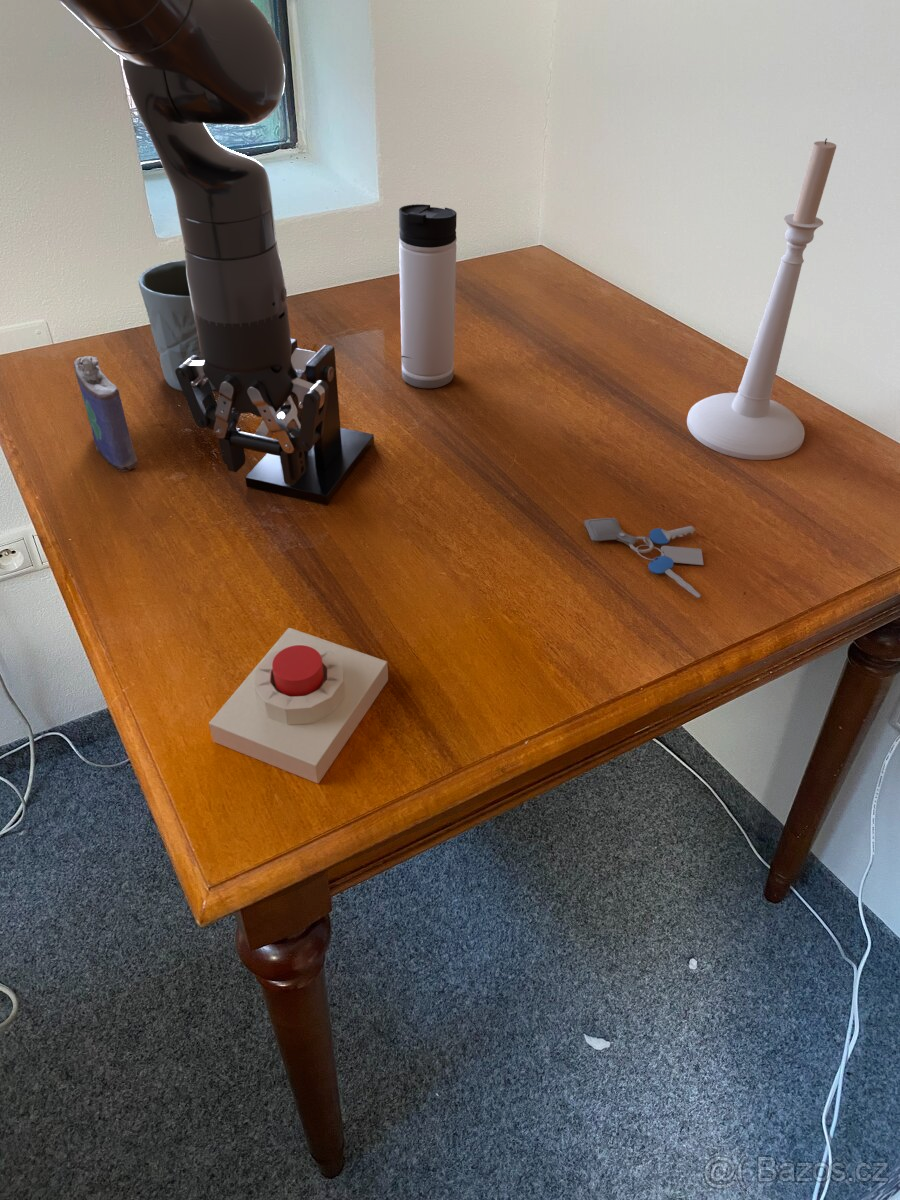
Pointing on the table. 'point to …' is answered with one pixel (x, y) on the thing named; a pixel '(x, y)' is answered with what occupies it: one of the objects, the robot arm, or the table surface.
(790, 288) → the candlestick
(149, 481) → the table surface
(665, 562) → the key chain
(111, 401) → the blue squeeze pouch
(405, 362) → the travel mug
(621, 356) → the table surface
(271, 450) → the lever
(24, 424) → the table surface
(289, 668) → the button
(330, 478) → the bracket
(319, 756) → the button box
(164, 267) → the grey hollow tapered cylinder
